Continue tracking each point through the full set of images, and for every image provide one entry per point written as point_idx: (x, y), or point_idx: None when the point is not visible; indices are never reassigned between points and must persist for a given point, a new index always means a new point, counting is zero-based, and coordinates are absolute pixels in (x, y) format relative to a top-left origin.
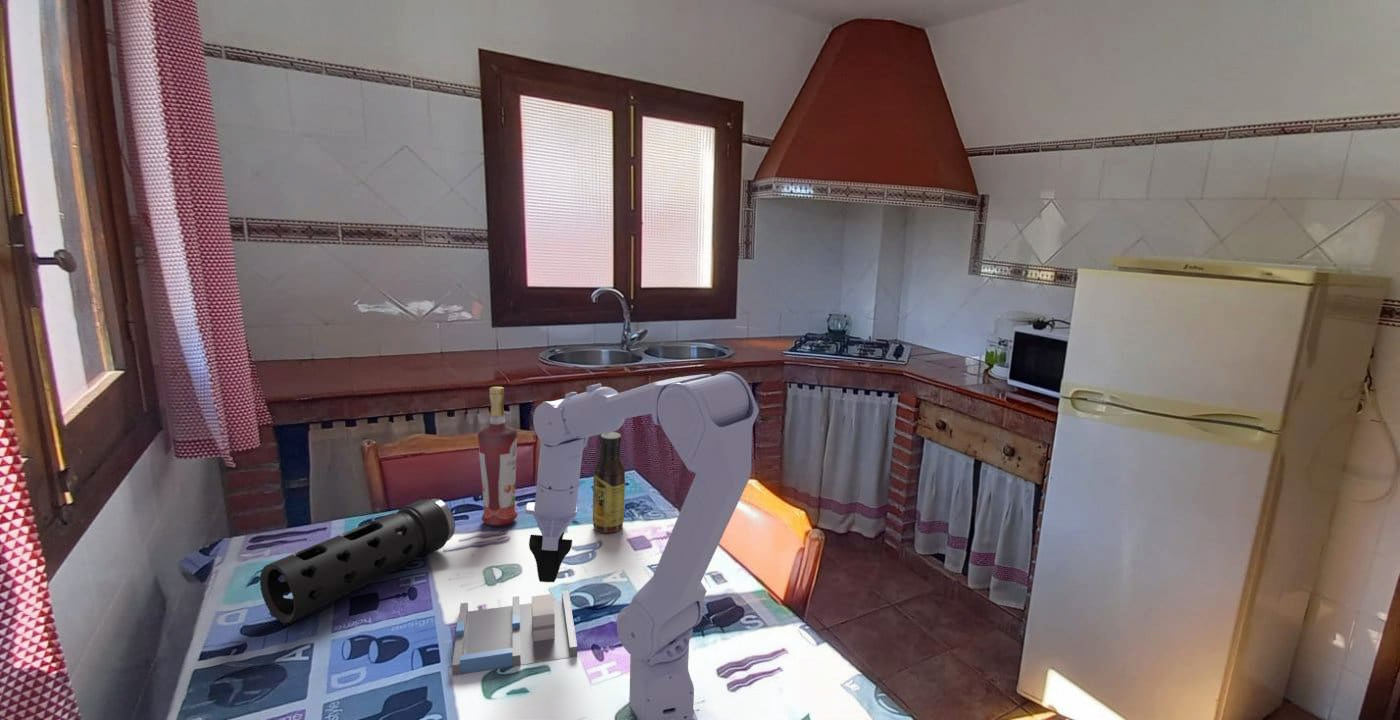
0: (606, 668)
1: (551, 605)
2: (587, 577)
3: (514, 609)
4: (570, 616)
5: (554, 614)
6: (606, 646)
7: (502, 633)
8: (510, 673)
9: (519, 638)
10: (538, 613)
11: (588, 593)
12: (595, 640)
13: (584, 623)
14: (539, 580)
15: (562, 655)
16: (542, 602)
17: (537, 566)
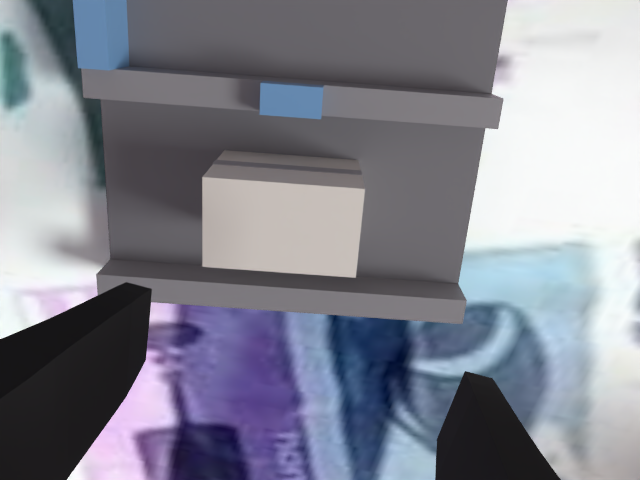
0: None
1: (266, 262)
2: (594, 381)
3: (401, 99)
4: (281, 304)
5: (203, 264)
6: (180, 363)
7: (307, 37)
8: None
9: (187, 103)
10: (218, 203)
11: (489, 366)
12: (218, 340)
13: (318, 325)
14: (121, 284)
15: (123, 238)
16: (299, 229)
17: (24, 331)
